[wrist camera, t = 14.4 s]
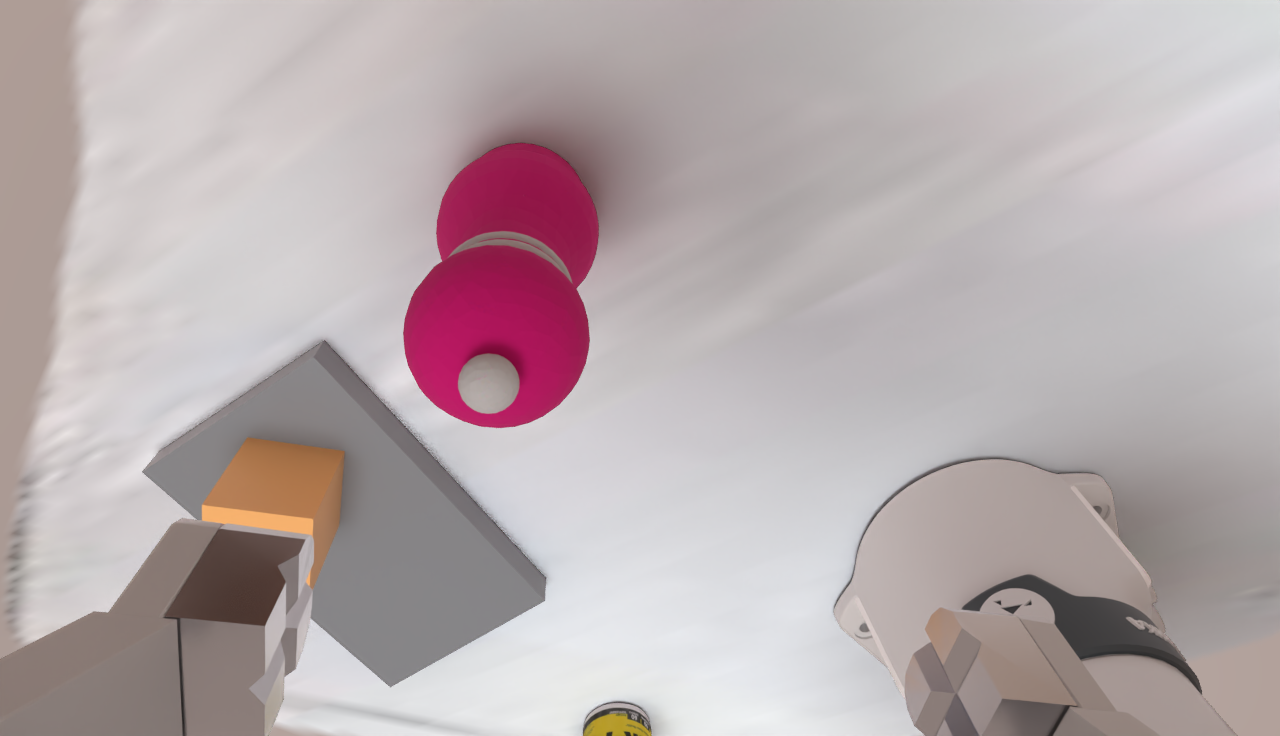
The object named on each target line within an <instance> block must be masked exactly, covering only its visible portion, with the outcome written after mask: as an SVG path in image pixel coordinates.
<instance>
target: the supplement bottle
mask: <svg viewBox="0 0 1280 736" xmlns="http://www.w3.org/2000/svg"><path fill="white" fill-rule="evenodd" d="M583 736H652V735H651V726H650V721H649V719H648V717H647V715H646V714H645V713H644V712H643V711H642V710H641V709H640V708H638V707H636V706H633V705H630V704H624V703H611V704H606V705H603V706H601V707H599V708H597V709H595V710H594V711H593V712H591V713H590V714H589V716H588V717H587V718H586V720H585V723H584V726H583Z"/></svg>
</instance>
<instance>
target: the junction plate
mask: <svg viewBox="0 0 1280 736" xmlns="http://www.w3.org/2000/svg"><path fill="white" fill-rule="evenodd" d="M247 437H248V438H255V439H263V440H270V441H277V442H284V443H291V444H298V445H305V446H312V447H320V448H327V449H334V450H341V451H345V455H344V468H343V482H342V495H341V509H340V522H339V527H338V530H337V532H336V534H335V537H334V539H333V542H332V544H331V547H330V549H329V551H328V554H327V556H326V559H325V561H324V564H323V566H322V569H321V571H320V573H319V576H318V578H317V581H316V583H315V586H314V588H313V596H312V610H311V617H310V618H311V619H312V620H313V621H315V622H316V623H317V624H318V625H319V626H320V627H321V628H323V629H324V630H325V631H326V632H327V633H328V634H330V635H331V636H332V637H333V638H334V639H335V640H336V641H338V642H339V643H340V644H341V645H342V646H343V647H345V648H346V649H347V650H348V651H349V652H350V653H351V654H353V655H354V656H355V657H356V658H357V659H358V660H360V661H361V662H362V663H363V664H364V665H365V666H366V667H368V668H369V669H370V670H371V671H372V672H373V673H375V674H376V675H377V676H378V677H379V678H380V679H381V680H383V681H384V682H385V683H386V684H387V685H388V686H390V687H392V686H393V685H395V684H397V683H399V682H400V681H402V680H404V679H406V678H408V677H409V676H411V675H413V674H415V673H417V672H418V671H420V670H422V669H424V668H426V667H427V666H429V665H431V664H433V663H434V662H436V661H438V660H440V659H442V658H443V657H445V656H447V655H449V654H451V653H452V652H454V651H456V650H458V649H460V648H461V647H463V646H465V645H467V644H468V643H470V642H472V641H474V640H476V639H477V638H479V637H481V636H483V635H485V634H486V633H488V632H490V631H492V630H494V629H495V628H497V627H499V626H501V625H503V624H504V623H506V622H508V621H510V620H511V619H513V618H515V617H517V616H519V615H520V614H522V613H524V612H526V611H528V610H529V609H531V608H533V607H535V606H537V605H538V604H540V603H542V602H544V601H545V588H546V578H545V577H544V576H543V575H542V574H541V573H540V572H539V571H538V569H537V568H536V567H535V566H534V565H533V564H532V563H531V562H530V561H529V560H528V559H527V558H526V557H525V556H524V554H523V553H522V552H521V551H520V550H519V549H518V548H517V547H516V546H515V545H514V544H513V543H512V542H511V540H510V539H509V538H508V537H507V536H506V535H505V534H504V533H503V532H502V531H501V530H500V529H499V528H498V527H497V525H496V524H495V523H494V522H493V521H492V520H491V519H490V518H489V517H488V516H487V515H486V514H485V513H484V511H483V510H482V509H481V508H480V507H479V506H478V505H477V504H476V503H475V502H474V501H473V500H472V499H471V498H470V496H469V495H468V494H467V493H466V492H465V491H464V490H463V489H462V488H461V487H460V486H459V485H458V484H457V483H456V481H455V480H454V479H453V478H452V477H451V476H450V475H449V474H448V473H447V472H446V471H445V470H444V469H443V467H442V466H441V465H440V464H439V463H438V462H437V461H436V460H435V459H434V458H433V457H432V456H431V455H430V454H429V452H428V451H427V450H426V449H425V448H424V447H423V446H422V445H421V444H420V443H419V442H418V441H417V440H416V438H415V437H414V436H413V435H412V434H411V433H410V432H409V431H408V430H407V429H406V428H405V427H404V426H403V425H402V423H401V422H400V421H399V420H398V419H397V418H396V417H395V416H394V415H393V414H392V413H391V412H390V411H389V409H388V408H387V407H386V406H385V405H384V404H383V403H382V402H381V401H380V400H379V399H378V398H377V397H376V396H375V394H374V393H373V392H372V391H371V390H370V389H369V388H368V387H367V386H366V385H365V384H364V383H363V382H362V380H361V379H360V378H359V377H358V376H357V375H356V374H355V373H354V372H353V371H352V370H351V369H350V368H349V367H348V365H347V364H346V363H345V362H344V361H343V360H342V359H341V358H340V357H339V356H338V355H337V354H336V353H335V351H334V350H333V349H332V348H331V347H330V346H329V345H328V344H327V343H326V342H325V341H323V342H321V343H320V344H318V345H317V346H315V347H314V348H312V349H311V350H309V351H308V352H306V353H305V354H303V355H302V356H300V357H299V358H297V359H296V360H294V361H293V362H291V363H290V364H288V365H287V366H285V367H284V368H283V369H281V370H280V371H278V372H277V373H275V374H274V375H272V376H271V377H269V378H268V379H266V380H265V381H263V382H262V383H260V384H259V385H257V386H256V387H254V388H253V389H251V390H250V391H248V392H247V393H245V394H244V395H242V396H241V397H239V398H238V399H236V400H235V401H233V402H232V403H231V404H229V405H228V406H226V407H225V408H223V409H222V410H220V411H219V412H217V413H216V414H214V415H213V416H211V417H210V418H208V419H207V420H205V421H204V422H202V423H201V424H199V425H198V426H196V427H195V428H193V429H192V430H190V431H189V432H187V433H186V434H184V435H183V436H182V437H180V438H179V439H177V440H176V441H174V442H173V443H171V444H170V445H168V446H167V447H165V448H164V449H162V450H161V451H159V452H158V453H157V455H156V456H155V457H154V458H153V459H152V461H151V462H150V463H149V464H148V465H147V467H146V468H145V469H144V470H143V471H142V472H143V473H144V474H145V475H146V476H147V477H148V478H150V479H151V480H152V481H153V482H154V483H155V484H157V485H158V486H159V487H160V488H161V489H162V490H163V491H165V492H166V493H167V494H168V495H169V496H170V497H172V498H173V499H174V500H175V501H176V502H177V503H178V504H180V505H181V506H182V507H183V508H184V509H185V510H187V511H188V512H189V513H190V514H191V515H192V516H193V517H195V518H196V519H197V520H201V521H202V504H203V502H204V501H205V499H206V498H207V496H208V495H209V493H210V492H211V491H212V489H213V488H214V486H215V485H216V483H217V482H218V480H219V479H220V477H221V476H222V474H223V473H224V471H225V470H226V468H227V467H228V465H229V464H230V462H231V461H232V459H233V458H234V456H235V455H236V453H237V452H238V450H239V449H240V447H241V446H242V445H243V443H244V442H245V440H246V439H247Z"/></svg>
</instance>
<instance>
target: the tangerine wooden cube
mask: <svg viewBox="0 0 1280 736" xmlns="http://www.w3.org/2000/svg"><path fill="white" fill-rule="evenodd" d="M344 455H345V451H341V450H334V449H327V448H320V447H312V446H305V445H298V444H291V443H284V442H277V441H270V440H263V439H255V438H248V437H247V439H246V440H245V442H244V443H243V445H242V446H241V447H240V449H239V450H238V452H237V453H236V455H235V456H234V458H233V459H232V461H231V462H230V464H229V465H228V467H227V468H226V470H225V471H224V473H223V474H222V476H221V477H220V479H219V480H218V482H217V483H216V485H215V486H214V488H213V489H212V491H211V492H210V493H209V495H208V496H207V498H206V499H205V501H204V502H203V504H202V521H209V522H216V523H222V524H227V523H228V524H236V525H243V526H250V527H258V528H265V529H272V530H279V531H287V532H294V533H301V534H309V535H311V536H312V537H313V539H314V563H313V565H312V568H311V570H310V572H309V575H308V577H307V579H306V583H307V584H308V585H309V586H310V588H311V589H312V590H313V588H314V586H315V583H316V581H317V578H318V576H319V573H320V571H321V569H322V566H323V564H324V561H325V559H326V556H327V554H328V551H329V549H330V547H331V544H332V542H333V539H334V537H335V534H336V532H337V530H338V527H339V522H340V509H341V495H342V482H343V468H344Z"/></svg>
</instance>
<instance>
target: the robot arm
mask: <svg viewBox="0 0 1280 736" xmlns="http://www.w3.org/2000/svg"><path fill="white" fill-rule="evenodd" d="M313 563H314V539H313V537H312V536H311V535H309V534H301V533H294V532H287V531H279V530H272V529H265V528H258V527H250V526H243V525H236V524H228V523H227V524H222V523H216V522H209V521H201V520H194V519H186V518H182V519H180V520H178V521H176V522H175V523H173V524H172V525H171V526H170V527H169V529H168V530H167V531H166V533H165V534H164V536H163V537H162V538H161V540H160V541H159V543H158V544H157V545H156V547H155V548H154V549H153V551H152V552H151V554H150V555H149V556H148V558H147V559H146V561H145V562H144V563H143V565H142V566H141V568H140V569H139V570H138V572H137V573H136V575H135V576H134V577H133V579H132V580H131V581H130V583H129V584H128V586H127V587H126V588H125V590H124V591H123V593H122V594H121V595H120V597H119V598H118V600H117V601H116V602H115V604H114V605H113V607H112V608H111V609H110V611H109V612H108V613H106V612H92V613H90V614H88V615H86V616H84V617H82V618H80V619H78V620H76V621H74V622H72V623H70V624H68V625H66V626H64V627H62V628H60V629H58V630H56V631H54V632H52V633H50V634H48V635H46V636H44V637H42V638H40V639H38V640H37V641H35V642H33V643H31V644H29V645H27V646H25V647H23V648H21V649H19V650H17V651H15V652H13V653H11V654H9V655H7V656H5V657H3V658H1V659H0V736H269V735H270V732H271V730H272V727H273V725H274V722H275V720H276V717H277V715H278V712H279V710H280V707H281V705H282V702H283V700H284V677H285V676H286V675H288V674H289V673H291V672H292V671H294V670H295V669H296V667H297V664H298V662H299V659H300V656H301V654H302V651H303V648H304V644H305V640H306V636H307V632H308V628H309V624H310V617H311V610H312V596H313V590H312V589H311V588H310V586H309V585H308V584H307V583H306V579H307V577H308V575H309V572H310V570H311V568H312V565H313ZM1151 583H1152V581H1151V579H1150V577H1149V575H1148V574H1147V572H1146V571H1145V570H1144V568H1143V567H1142V566H1141V565H1140V563H1139V562H1138V561H1137V560H1136V559H1135V557H1134V556H1133V555H1132V554H1131V553H1130V551H1129V550H1128V549H1127V548H1126V547H1125V545H1124V544H1123V543H1122V542H1121V541H1120V539H1119V534H1118V527H1117V521H1116V514H1115V507H1114V501H1113V494H1112V491H1111V489H1110V487H1109V486H1108V485H1107V483H1106V482H1105V481H1104V479H1103V478H1102V477H1100V476H1099V475H1096V474H1089V473H1069V474H1056V473H1051V472H1048V471H1045V470H1042V469H1039V468H1037V467H1034V466H1031V465H1029V464H1025V463H1021V462H1017V461H1010V460H1000V459H988V460H977V461H970V462H965V463H960V464H956V465H953V466H950V467H946V468H944V469H941V470H938V471H936V472H934V473H931V474H929V475H927V476H925V477H923V478H921V479H920V480H918V481H916V482H914V483H913V484H911V485H910V486H908V487H907V488H905V489H904V490H903V491H901V492H900V493H899V494H898V495H896V496H895V497H894V498H893V499H892V500H891V501H890V502H888V503H887V504H886V505H885V507H884V508H883V509H882V510H881V511H880V512H879V513H878V514H877V516H876V517H875V518H874V520H873V521H872V523H871V524H870V526H869V527H868V529H867V531H866V533H865V535H864V537H863V539H862V541H861V544H860V547H859V550H858V554H857V559H856V565H855V571H854V575H853V578H852V581H851V583H850V584H849V585H848V587H847V588H846V590H845V591H844V593H843V594H842V595H841V597H840V599H839V600H838V602H837V604H836V606H835V608H834V617H835V619H836V620H837V622H838V624H839V626H840V627H841V629H842V630H843V631H844V632H846V633H847V634H848V635H849V636H850V637H852V638H853V639H854V640H855V641H856V642H857V643H859V644H860V645H861V646H862V647H863V648H865V649H866V650H867V651H868V652H869V653H871V654H872V655H873V656H874V657H875V658H877V659H878V660H879V661H880V662H881V663H883V664H884V665H885V666H886V667H887V668H888V669H889V671H890V673H891V675H892V677H893V679H894V681H895V683H896V685H897V687H898V689H899V691H900V693H901V694H902V696H903V697H904V699H905V700H906V704H907V709H908V711H909V714H910V716H911V719H912V721H913V723H914V726H915V727H917V728H918V729H919V730H920V731H921V732H922V733H923V734H924V735H925V736H1238V735H1236V733H1235V732H1234V731H1233V730H1232V729H1231V728H1230V727H1229V725H1228V724H1227V723H1226V722H1225V721H1224V720H1223V719H1222V718H1221V717H1220V715H1219V714H1218V713H1217V712H1216V711H1215V710H1214V709H1213V708H1212V706H1211V705H1210V704H1209V703H1208V702H1207V701H1206V699H1205V698H1204V697H1203V696H1202V690H1201V687H1200V683H1199V680H1198V678H1197V676H1196V675H1195V673H1194V672H1193V671H1192V670H1191V668H1190V667H1189V666H1188V664H1187V663H1186V662H1185V661H1186V660H1185V658H1184V657H1183V655H1182V654H1181V653H1180V650H1179V649H1178V648H1177V647H1176V646H1175V644H1174V643H1173V642H1172V641H1171V640H1170V639H1169V637H1167V635H1166V634H1164V633H1165V626H1164V623H1163V621H1162V619H1161V617H1160V615H1159V613H1158V612H1157V610H1156V609H1155V607H1154V606H1153V605H1152V604H1153V603H1156V602H1157V596H1156V593H1155V591H1154V590H1153V588H1152V586H1151ZM863 623H865V624H863Z"/></svg>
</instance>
